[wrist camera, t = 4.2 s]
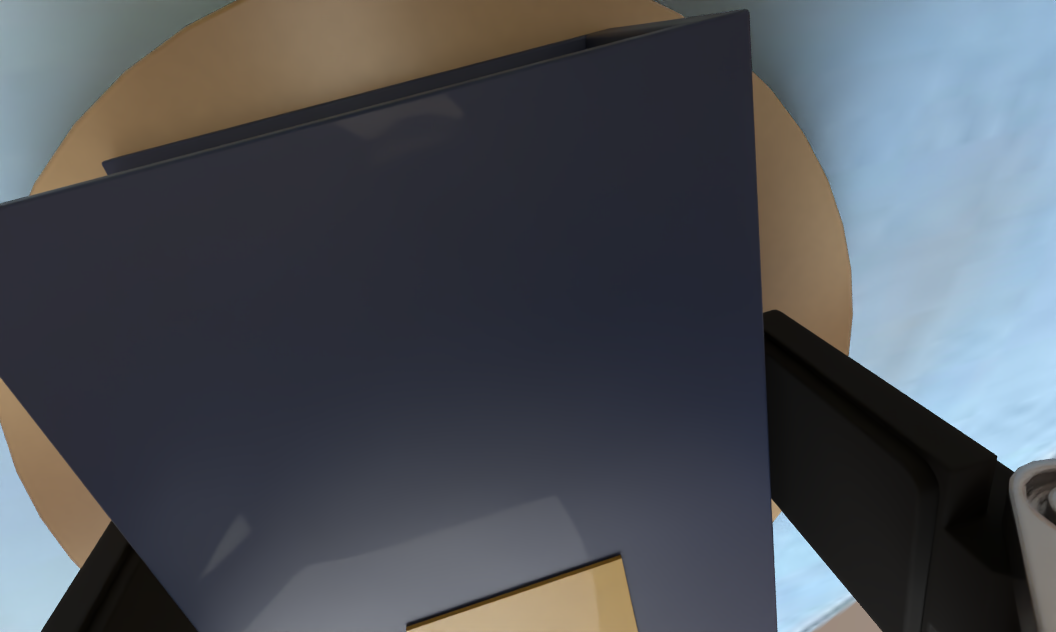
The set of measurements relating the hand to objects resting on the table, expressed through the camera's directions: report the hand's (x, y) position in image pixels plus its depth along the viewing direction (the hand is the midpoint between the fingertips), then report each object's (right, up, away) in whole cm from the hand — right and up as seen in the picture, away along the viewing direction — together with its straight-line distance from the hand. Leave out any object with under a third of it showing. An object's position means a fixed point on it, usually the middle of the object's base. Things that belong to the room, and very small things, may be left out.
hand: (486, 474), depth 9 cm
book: (0, +1, +2) cm, 3 cm away
